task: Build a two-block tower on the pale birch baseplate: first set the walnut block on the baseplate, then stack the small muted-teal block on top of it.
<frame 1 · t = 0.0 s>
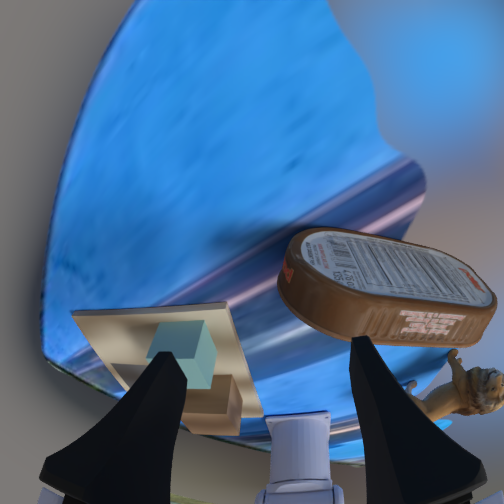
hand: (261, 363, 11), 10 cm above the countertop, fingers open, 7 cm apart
walnut block: (214, 388, 28), point 1 cm above the countertop, touching baseplate
baseplate: (174, 371, 29), on the countertop
lion figurine: (433, 363, 27), on the countertop
tin: (382, 247, 20), on the countertop
teal block: (189, 337, 24), point 1 cm above the countertop, touching baseplate
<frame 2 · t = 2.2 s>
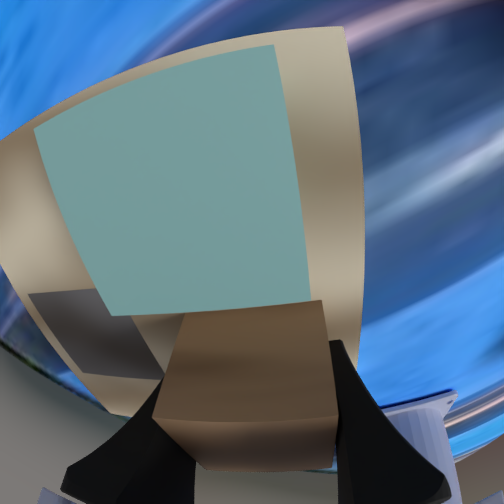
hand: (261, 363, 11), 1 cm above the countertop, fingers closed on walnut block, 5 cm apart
walnut block: (262, 352, 12), point 1 cm above the countertop, touching baseplate, gripper
baseplate: (161, 310, 12), on the countertop
teal block: (212, 152, 8), point 1 cm above the countertop, touching baseplate
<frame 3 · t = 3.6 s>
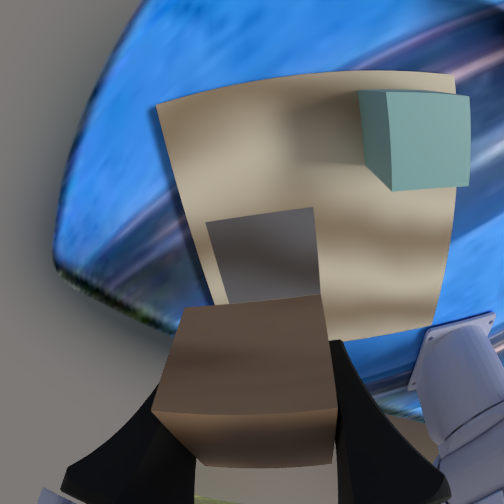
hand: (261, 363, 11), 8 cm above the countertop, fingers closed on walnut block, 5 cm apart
walnut block: (261, 347, 12), point 8 cm above the countertop, touching gripper
baseplate: (331, 230, 17), on the countertop
teal block: (397, 126, 13), point 1 cm above the countertop, touching baseplate
when the fingers open (3 cm above the countertop, at t = 5.0 s): walnut block drops 1 cm, resting on baseplate.
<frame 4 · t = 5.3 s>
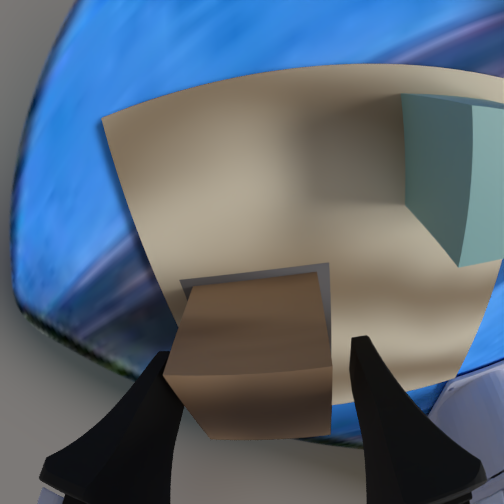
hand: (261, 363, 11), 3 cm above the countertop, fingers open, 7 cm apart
walnut block: (263, 324, 13), point 1 cm above the countertop, touching baseplate
baseplate: (350, 287, 13), on the countertop
teal block: (451, 149, 8), point 1 cm above the countertop, touching baseplate
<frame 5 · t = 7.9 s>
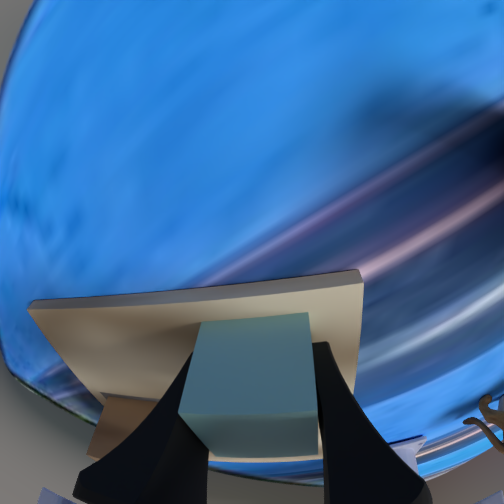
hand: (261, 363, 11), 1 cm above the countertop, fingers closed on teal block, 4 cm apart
walnut block: (157, 419, 16), point 1 cm above the countertop, touching baseplate
baseplate: (212, 406, 16), on the countertop
teal block: (262, 352, 12), point 1 cm above the countertop, touching baseplate, gripper
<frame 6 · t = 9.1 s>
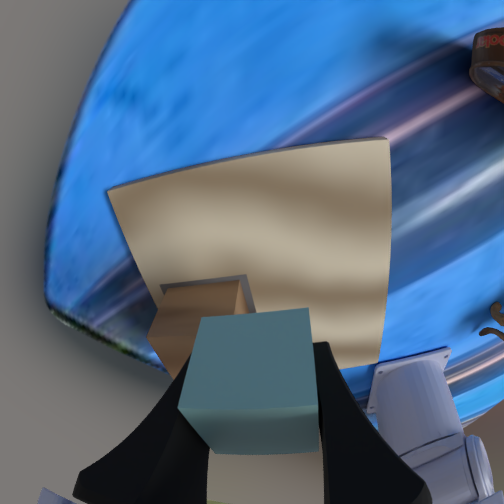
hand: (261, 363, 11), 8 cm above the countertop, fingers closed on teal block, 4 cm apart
walnut block: (212, 312, 20), point 1 cm above the countertop, touching baseplate
baseplate: (268, 289, 20), on the countertop
teal block: (262, 348, 12), point 8 cm above the countertop, touching gripper
when the fingers open (7 cm above the countertop, at t = 10.1 s): teal block stays where it is, resting on walnut block.
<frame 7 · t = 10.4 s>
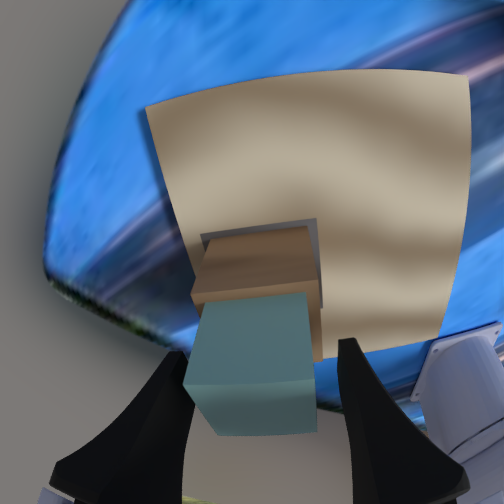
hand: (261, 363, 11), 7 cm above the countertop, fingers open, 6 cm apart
walnut block: (266, 272, 16), point 1 cm above the countertop, touching baseplate, teal block
baseplate: (335, 242, 16), on the countertop
teal block: (262, 332, 12), point 5 cm above the countertop, touching walnut block
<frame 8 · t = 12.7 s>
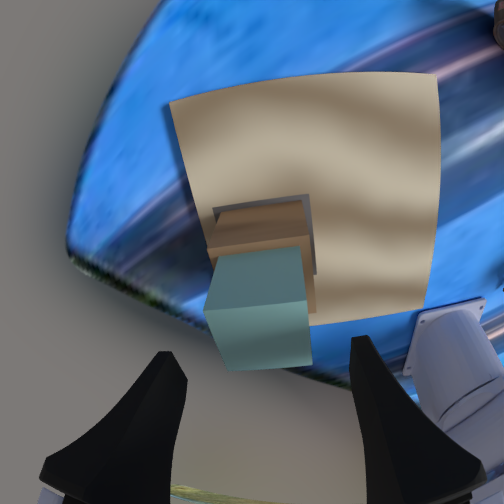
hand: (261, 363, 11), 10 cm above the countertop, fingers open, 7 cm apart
walnut block: (267, 241, 19), point 1 cm above the countertop, touching baseplate, teal block
baseplate: (325, 215, 19), on the countertop
teal block: (265, 283, 15), point 5 cm above the countertop, touching walnut block
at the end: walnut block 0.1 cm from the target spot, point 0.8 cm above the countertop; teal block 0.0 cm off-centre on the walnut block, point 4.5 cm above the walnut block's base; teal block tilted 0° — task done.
